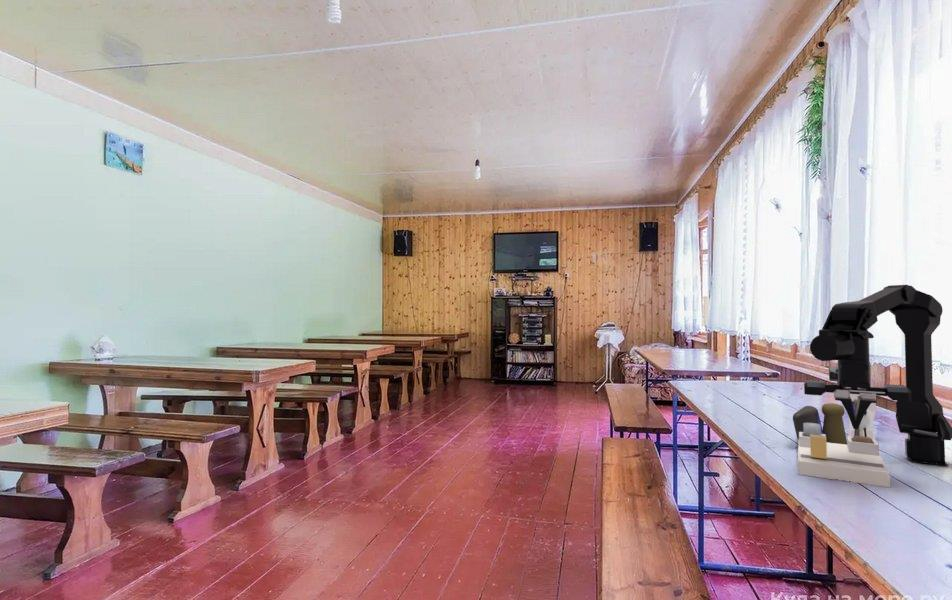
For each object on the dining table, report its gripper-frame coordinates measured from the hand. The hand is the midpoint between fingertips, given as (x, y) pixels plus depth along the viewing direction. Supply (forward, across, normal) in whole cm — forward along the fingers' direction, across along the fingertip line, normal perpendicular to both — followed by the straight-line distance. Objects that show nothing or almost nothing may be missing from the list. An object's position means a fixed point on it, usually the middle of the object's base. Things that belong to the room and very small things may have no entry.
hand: (855, 428), depth 109 cm
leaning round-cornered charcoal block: (+11, +8, -26) cm, 29 cm away
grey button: (+5, +8, -12) cm, 15 cm away
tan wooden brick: (+7, +7, 0) cm, 10 cm away
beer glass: (+11, -4, -40) cm, 42 cm away
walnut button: (+7, -2, -12) cm, 14 cm away
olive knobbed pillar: (+11, +3, -30) cm, 32 cm away
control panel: (+11, +3, -6) cm, 13 cm away
